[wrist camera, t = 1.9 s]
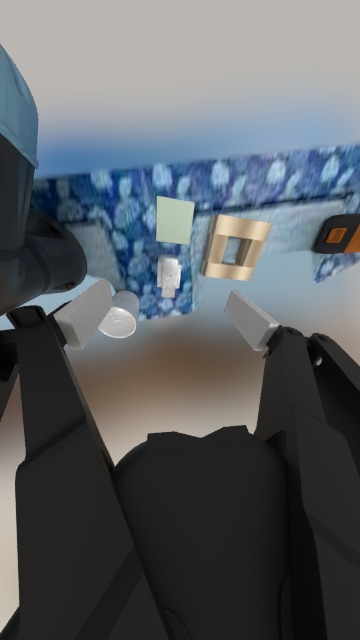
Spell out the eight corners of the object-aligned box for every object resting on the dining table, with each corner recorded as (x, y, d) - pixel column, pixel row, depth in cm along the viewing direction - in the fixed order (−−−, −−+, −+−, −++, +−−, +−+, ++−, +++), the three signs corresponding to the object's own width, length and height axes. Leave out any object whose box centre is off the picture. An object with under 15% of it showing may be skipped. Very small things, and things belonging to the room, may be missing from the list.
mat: (156, 240, 28) (156, 240, 27) (157, 196, 24) (157, 195, 23) (188, 244, 29) (188, 245, 28) (194, 203, 25) (194, 202, 25)
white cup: (136, 318, 38) (128, 342, 30) (107, 307, 35) (90, 330, 27) (146, 296, 35) (141, 316, 26) (116, 282, 32) (99, 300, 24)
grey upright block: (158, 273, 32) (156, 296, 20) (159, 247, 29) (157, 257, 17) (173, 274, 32) (179, 297, 21) (175, 249, 29) (183, 260, 18)
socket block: (200, 272, 33) (205, 276, 29) (211, 216, 26) (218, 214, 23) (241, 276, 34) (249, 280, 31) (260, 224, 28) (272, 223, 25)
